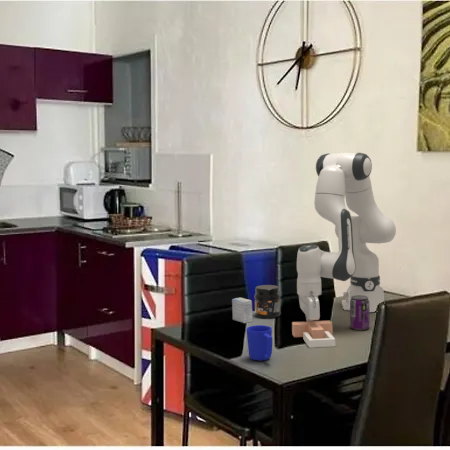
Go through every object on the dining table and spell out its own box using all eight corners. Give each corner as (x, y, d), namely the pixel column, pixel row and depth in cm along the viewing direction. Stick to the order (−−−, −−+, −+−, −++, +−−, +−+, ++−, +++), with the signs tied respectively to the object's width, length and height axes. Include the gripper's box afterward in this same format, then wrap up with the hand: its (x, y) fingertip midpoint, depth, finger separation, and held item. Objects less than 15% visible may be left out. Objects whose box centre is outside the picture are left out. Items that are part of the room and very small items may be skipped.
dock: (303, 339, 232) (303, 332, 232) (328, 337, 233) (328, 331, 232) (309, 347, 221) (309, 340, 221) (335, 346, 222) (335, 339, 222)
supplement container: (249, 316, 268) (248, 287, 267) (268, 311, 275) (268, 283, 274) (266, 320, 260) (266, 290, 259) (286, 315, 267) (285, 287, 265)
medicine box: (252, 321, 259) (252, 300, 258) (243, 323, 256) (243, 302, 255) (241, 318, 265) (240, 297, 264) (232, 319, 263) (231, 298, 262)
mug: (259, 367, 202) (258, 336, 201) (242, 357, 213) (242, 327, 212) (282, 363, 205) (282, 332, 204) (265, 353, 216) (264, 324, 215)
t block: (292, 334, 239) (292, 322, 238) (330, 332, 240) (329, 320, 239) (298, 343, 227) (298, 330, 226) (337, 341, 228) (337, 328, 227)
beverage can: (369, 331, 240) (369, 299, 239) (350, 330, 241) (349, 298, 240) (369, 326, 247) (369, 295, 246) (350, 325, 248) (350, 294, 247)
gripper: (323, 294, 229) (324, 333, 230) (312, 283, 249) (312, 319, 251) (306, 295, 229) (306, 334, 230) (295, 284, 249) (296, 320, 250)
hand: (309, 326), depth 240 cm, fingers closed
